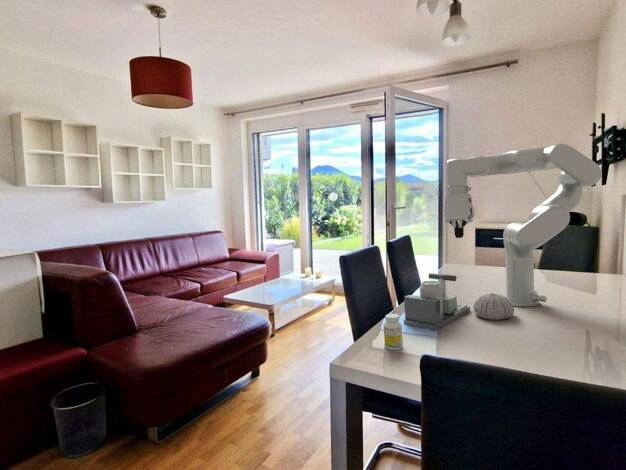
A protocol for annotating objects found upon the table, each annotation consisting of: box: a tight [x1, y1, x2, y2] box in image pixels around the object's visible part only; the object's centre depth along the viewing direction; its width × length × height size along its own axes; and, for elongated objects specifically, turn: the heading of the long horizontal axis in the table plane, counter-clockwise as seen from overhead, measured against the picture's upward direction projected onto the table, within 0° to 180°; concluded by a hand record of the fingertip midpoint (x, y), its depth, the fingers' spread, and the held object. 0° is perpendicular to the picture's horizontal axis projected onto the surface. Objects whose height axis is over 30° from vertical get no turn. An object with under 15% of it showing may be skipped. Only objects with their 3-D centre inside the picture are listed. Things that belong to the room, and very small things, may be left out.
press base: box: [403, 294, 471, 331], centre depth 134 cm, size 12×26×10 cm, turn 133°
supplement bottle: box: [383, 313, 404, 351], centre depth 110 cm, size 5×5×10 cm
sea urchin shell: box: [472, 293, 516, 321], centre depth 131 cm, size 13×14×8 cm
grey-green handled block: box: [428, 272, 458, 314], centre depth 136 cm, size 10×6×13 cm, turn 43°
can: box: [419, 280, 443, 315], centre depth 131 cm, size 8×8×12 cm
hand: (459, 237), depth 145 cm, fingers closed
